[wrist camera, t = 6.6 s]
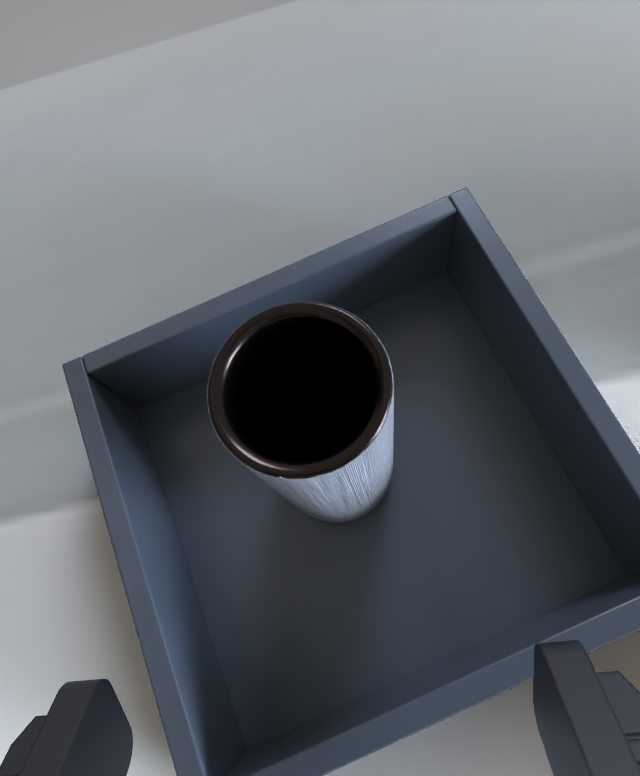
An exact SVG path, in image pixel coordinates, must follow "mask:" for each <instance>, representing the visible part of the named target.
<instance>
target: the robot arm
mask: <svg viewBox="0 0 640 776" xmlns="http://www.w3.org/2000/svg"><path fill="white" fill-rule="evenodd" d="M533 702H534V710H535V715H536V720H537V724H538V728H539V732H540V735H541V738H542V741H543V744H544V747H545V750H546V753H547V756H548V759H549V762H550V765H551V768H552V771H553V774H554V776H640V692H639V691H638V690H637V689H636V688H635V687H634V686H633V685H632V684H631V683H630V682H629V681H628V680H627V679H626V678H625V677H624V676H623V675H622V674H621V673H620V672H619V671H612V672H600V673H596V672H595V670H594V668H593V666H592V663H591V661H590V659H589V657H588V655H587V653H586V651H585V649H584V647H583V645H582V644H581V643H580V642H579V641H578V640H571V641H559V642H548V643H536V644H535V646H534V677H533ZM132 747H133V738H132V730H131V727H130V724H129V722H128V720H127V718H126V715H125V713H124V711H123V709H122V707H121V705H120V702H119V700H118V698H117V696H116V694H115V691H114V689H113V687H112V685H111V683H110V682H109V681H108V680H107V679H96V680H85V681H73V682H67V683H65V684H64V685H63V686H62V687H61V688H60V690H59V691H58V693H57V695H56V697H55V699H54V701H53V703H52V705H51V708H50V710H49V712H48V714H47V715H46V716H36V717H35V718H34V719H33V720H32V721H31V722H30V724H29V725H28V726H27V727H26V728H25V729H24V731H23V732H22V733H21V734H20V735H19V736H18V738H17V739H16V740H15V741H14V742H13V743H12V744H11V746H10V748H9V750H8V752H7V754H6V756H5V758H4V760H3V762H2V764H1V766H0V776H126V775H127V771H128V768H129V765H130V761H131V756H132Z"/></svg>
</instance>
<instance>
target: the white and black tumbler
mask: <svg viewBox="0 0 640 776" xmlns="http://www.w3.org/2000/svg"><path fill="white" fill-rule="evenodd" d="M207 404H208V411H209V415H210V419H211V422H212V425H213V427H214V430H215V432H216V434H217V436H218V438H219V439H220V441H221V442H222V444H223V445H224V446H225V448H226V449H227V450H228V451H229V452H230V453H231V454H232V455H233V456H234V457H235V458H236V459H237V460H238V461H239V462H240V463H242V464H243V465H244V466H245V467H247V468H248V469H249V470H251V471H252V472H253V473H254V474H256V475H257V476H258V477H259V478H261V479H262V480H263V481H265V482H266V483H267V484H268V485H270V486H271V487H272V488H273V489H275V490H276V491H277V492H278V493H280V494H281V495H282V496H284V497H285V498H286V499H287V500H289V501H290V502H291V503H292V504H294V505H295V506H296V507H297V508H299V509H300V510H301V511H303V512H304V513H306V514H307V515H309V516H311V517H313V518H316V519H319V520H322V521H326V522H347V521H352V520H355V519H357V518H360V517H362V516H364V515H365V514H367V513H368V512H370V511H371V510H372V509H374V508H375V507H376V506H377V505H378V504H379V502H380V501H381V500H382V498H383V497H384V495H385V494H386V492H387V490H388V487H389V485H390V482H391V478H392V473H393V434H394V381H393V373H392V367H391V363H390V360H389V357H388V355H387V352H386V350H385V348H384V346H383V344H382V343H381V341H380V340H379V338H378V337H377V335H376V334H375V333H374V332H373V331H372V330H371V328H370V327H369V326H368V325H366V324H365V323H364V322H363V321H362V320H360V319H359V318H358V317H356V316H355V315H353V314H351V313H350V312H348V311H346V310H344V309H341V308H339V307H336V306H333V305H330V304H326V303H321V302H313V301H298V302H289V303H284V304H280V305H276V306H273V307H270V308H268V309H265V310H263V311H261V312H259V313H257V314H256V315H254V316H252V317H251V318H249V319H248V320H246V321H245V322H244V323H242V324H241V325H240V326H239V327H238V328H237V329H236V330H235V331H234V332H233V333H232V334H231V335H230V336H229V337H228V338H227V340H226V341H225V342H224V344H223V345H222V347H221V348H220V350H219V352H218V354H217V356H216V358H215V360H214V362H213V365H212V368H211V371H210V375H209V380H208V387H207Z"/></svg>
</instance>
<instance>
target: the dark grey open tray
mask: <svg viewBox="0 0 640 776" xmlns="http://www.w3.org/2000/svg"><path fill="white" fill-rule="evenodd" d="M298 301H313V302H321V303H326V304H330V305H333V306H336V307H339V308H341V309H344V310H346V311H348V312H350V313H351V314H353V315H355V316H356V317H358V318H359V319H360V320H362V321H363V322H364V323H365V324H366V325H368V326H369V327H370V328H371V330H372V331H373V332H374V333H375V334H376V335H377V337H378V338H379V340H380V341H381V343H382V344H383V346H384V348H385V350H386V352H387V355H388V357H389V360H390V363H391V367H392V373H393V381H394V434H393V473H392V478H391V482H390V485H389V487H388V490H387V492H386V494H385V495H384V497H383V498H382V500H381V501H380V502H379V504H378V505H377V506H376V507H375V508H374V509H372V510H371V511H370V512H368V513H367V514H365V515H364V516H362V517H360V518H357V519H355V520H352V521H347V522H326V521H322V520H319V519H316V518H313V517H311V516H309V515H307V514H306V513H304V512H303V511H301V510H300V509H299V508H297V507H296V506H295V505H294V504H292V503H291V502H290V501H289V500H287V499H286V498H285V497H284V496H282V495H281V494H280V493H278V492H277V491H276V490H275V489H273V488H272V487H271V486H270V485H268V484H267V483H266V482H265V481H263V480H262V479H261V478H259V477H258V476H257V475H256V474H254V473H253V472H252V471H251V470H249V469H248V468H247V467H245V466H244V465H243V464H242V463H240V462H239V461H238V460H237V459H236V458H235V457H234V456H233V455H232V454H231V453H230V452H229V451H228V450H227V449H226V448H225V446H224V445H223V444H222V442H221V441H220V439H219V438H218V436H217V434H216V432H215V430H214V427H213V425H212V422H211V419H210V415H209V411H208V404H207V387H208V380H209V375H210V371H211V368H212V365H213V362H214V360H215V358H216V356H217V354H218V352H219V350H220V348H221V347H222V345H223V344H224V342H225V341H226V340H227V338H228V337H229V336H230V335H231V334H232V333H233V332H234V331H235V330H236V329H237V328H238V327H239V326H240V325H241V324H242V323H244V322H245V321H246V320H248V319H249V318H251V317H252V316H254V315H256V314H257V313H259V312H261V311H263V310H265V309H268V308H270V307H273V306H276V305H280V304H284V303H289V302H298ZM63 370H64V373H65V377H66V380H67V384H68V388H69V391H70V395H71V398H72V402H73V405H74V409H75V413H76V416H77V420H78V423H79V427H80V431H81V434H82V438H83V441H84V445H85V448H86V452H87V456H88V459H89V463H90V466H91V470H92V473H93V477H94V481H95V484H96V488H97V491H98V495H99V499H100V502H101V506H102V509H103V513H104V516H105V520H106V524H107V527H108V531H109V534H110V538H111V541H112V545H113V549H114V552H115V556H116V559H117V563H118V567H119V570H120V574H121V577H122V581H123V584H124V588H125V592H126V595H127V599H128V602H129V606H130V609H131V613H132V617H133V620H134V624H135V627H136V631H137V635H138V638H139V642H140V645H141V649H142V652H143V656H144V660H145V663H146V667H147V670H148V674H149V677H150V681H151V685H152V688H153V692H154V695H155V699H156V702H157V706H158V710H159V713H160V717H161V720H162V724H163V728H164V731H165V735H166V738H167V742H168V745H169V749H170V753H171V756H172V760H173V763H174V767H175V770H176V774H177V776H324V775H326V774H328V773H330V772H332V771H335V770H337V769H339V768H341V767H343V766H345V765H348V764H350V763H352V762H354V761H356V760H358V759H361V758H363V757H365V756H367V755H369V754H371V753H374V752H376V751H378V750H380V749H382V748H384V747H387V746H389V745H391V744H393V743H395V742H397V741H399V740H402V739H404V738H406V737H408V736H410V735H412V734H415V733H417V732H419V731H421V730H423V729H425V728H428V727H430V726H432V725H434V724H436V723H438V722H441V721H443V720H445V719H447V718H449V717H451V716H454V715H456V714H458V713H460V712H462V711H464V710H467V709H469V708H471V707H473V706H475V705H477V704H480V703H482V702H484V701H486V700H488V699H490V698H493V697H495V696H497V695H499V694H501V693H503V692H506V691H508V690H510V689H512V688H514V687H516V686H519V685H521V684H523V683H525V682H527V681H529V680H531V679H533V677H534V646H535V644H536V643H548V642H559V641H571V640H578V641H579V642H580V643H581V644H582V645H583V647H584V649H585V651H586V653H587V654H588V653H590V652H592V651H594V650H596V649H599V648H601V647H603V646H605V645H607V644H609V643H612V642H614V641H616V640H618V639H620V638H622V637H625V636H627V635H629V634H631V633H633V632H635V631H638V630H640V454H639V452H638V451H637V449H636V448H635V446H634V445H633V443H632V442H631V440H630V439H629V437H628V435H627V434H626V432H625V431H624V429H623V428H622V426H621V425H620V423H619V422H618V420H617V418H616V417H615V415H614V414H613V412H612V411H611V409H610V408H609V406H608V405H607V403H606V402H605V400H604V398H603V397H602V395H601V394H600V392H599V391H598V389H597V388H596V386H595V385H594V383H593V381H592V380H591V378H590V377H589V375H588V374H587V372H586V371H585V369H584V368H583V366H582V364H581V363H580V361H579V360H578V358H577V357H576V355H575V354H574V352H573V351H572V349H571V348H570V346H569V344H568V343H567V341H566V340H565V338H564V337H563V335H562V334H561V332H560V331H559V329H558V327H557V326H556V324H555V323H554V321H553V320H552V318H551V317H550V315H549V314H548V312H547V310H546V309H545V307H544V306H543V304H542V303H541V301H540V300H539V298H538V297H537V295H536V294H535V292H534V290H533V289H532V287H531V286H530V284H529V283H528V281H527V280H526V278H525V277H524V275H523V273H522V272H521V270H520V269H519V267H518V266H517V264H516V263H515V261H514V260H513V258H512V256H511V255H510V253H509V252H508V250H507V249H506V247H505V246H504V244H503V243H502V241H501V240H500V238H499V236H498V235H497V233H496V232H495V230H494V229H493V227H492V226H491V224H490V223H489V221H488V219H487V218H486V216H485V215H484V213H483V212H482V210H481V209H480V207H479V206H478V204H477V202H476V201H475V199H474V198H473V196H472V195H471V193H470V192H469V190H468V189H467V188H464V189H462V190H459V191H457V192H455V193H453V194H450V195H449V196H448V197H447V196H446V197H444V198H441V199H439V200H437V201H434V202H432V203H430V204H428V205H425V206H423V207H421V208H419V209H416V210H414V211H412V212H409V213H407V214H405V215H403V216H400V217H398V218H396V219H393V220H391V221H389V222H387V223H384V224H382V225H380V226H378V227H375V228H373V229H371V230H368V231H366V232H364V233H362V234H359V235H357V236H355V237H352V238H350V239H348V240H346V241H343V242H341V243H339V244H336V245H334V246H332V247H330V248H327V249H325V250H323V251H321V252H318V253H316V254H314V255H311V256H309V257H307V258H305V259H302V260H300V261H298V262H295V263H293V264H291V265H289V266H286V267H284V268H282V269H280V270H277V271H275V272H273V273H270V274H268V275H266V276H264V277H261V278H259V279H257V280H254V281H252V282H250V283H248V284H245V285H243V286H241V287H239V288H236V289H234V290H232V291H229V292H227V293H225V294H223V295H220V296H218V297H216V298H213V299H211V300H209V301H207V302H204V303H202V304H200V305H198V306H195V307H193V308H191V309H188V310H186V311H184V312H182V313H179V314H177V315H175V316H172V317H170V318H168V319H166V320H163V321H161V322H159V323H157V324H154V325H152V326H150V327H147V328H145V329H143V330H141V331H138V332H136V333H134V334H131V335H129V336H127V337H125V338H122V339H120V340H118V341H116V342H113V343H111V344H109V345H106V346H104V347H102V348H100V349H97V350H95V351H93V352H90V353H88V354H86V355H84V356H83V358H82V357H79V358H76V359H74V360H72V361H70V362H67V363H65V364H63Z"/></svg>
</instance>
